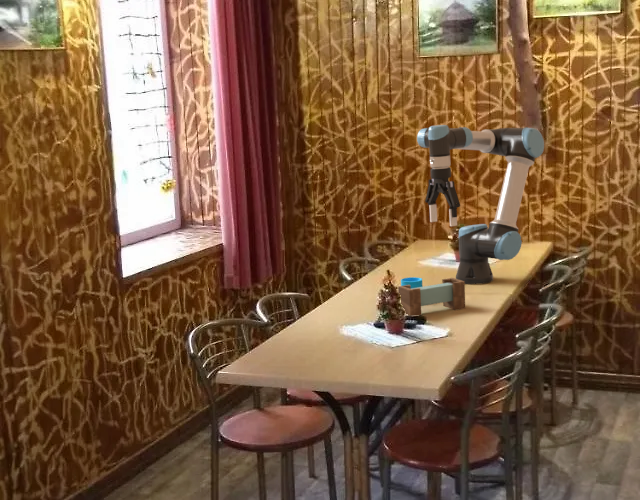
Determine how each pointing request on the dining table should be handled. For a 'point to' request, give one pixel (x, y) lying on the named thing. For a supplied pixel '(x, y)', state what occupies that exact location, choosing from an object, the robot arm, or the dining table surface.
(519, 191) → the robot arm
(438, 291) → the rail
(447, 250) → the dining table surface
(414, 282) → the mug
